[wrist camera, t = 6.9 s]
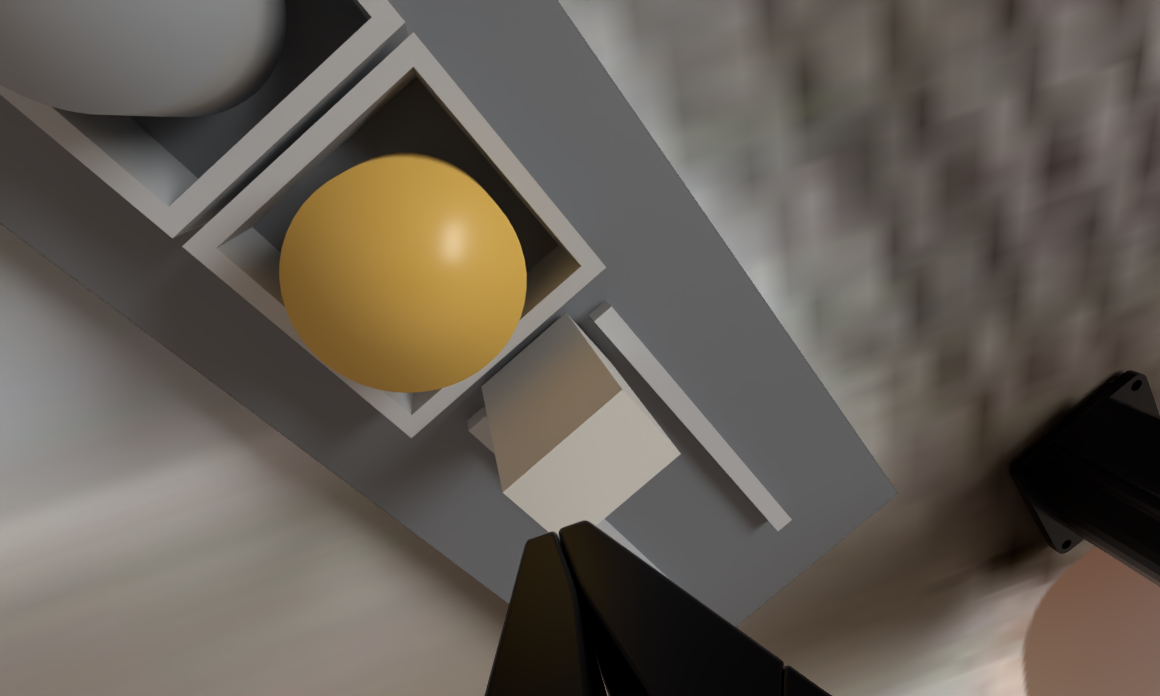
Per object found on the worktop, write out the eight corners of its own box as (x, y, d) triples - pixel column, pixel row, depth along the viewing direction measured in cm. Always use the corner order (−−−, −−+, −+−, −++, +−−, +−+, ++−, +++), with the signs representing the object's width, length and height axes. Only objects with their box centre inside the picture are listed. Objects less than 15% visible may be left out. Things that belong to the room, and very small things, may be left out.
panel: (861, 464, 23) (954, 538, 19) (625, 659, 24) (667, 771, 20) (292, -336, 12) (220, -578, 8) (-121, 72, 13) (-386, 46, 8)
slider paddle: (611, 362, 16) (681, 453, 12) (529, 433, 17) (568, 549, 12) (566, 312, 16) (622, 389, 11) (481, 386, 16) (502, 492, 11)
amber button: (542, 256, 13) (571, 290, 11) (412, 372, 14) (408, 434, 11) (413, 108, 12) (409, 104, 9) (268, 242, 12) (221, 277, 9)
